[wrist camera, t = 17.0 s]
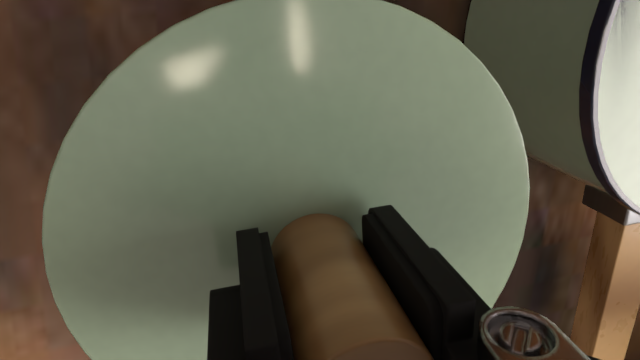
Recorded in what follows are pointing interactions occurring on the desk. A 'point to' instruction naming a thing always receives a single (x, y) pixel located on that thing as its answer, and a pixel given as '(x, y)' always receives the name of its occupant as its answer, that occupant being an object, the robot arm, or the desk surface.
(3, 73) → the desk surface
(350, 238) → the lid
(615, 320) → the pot
